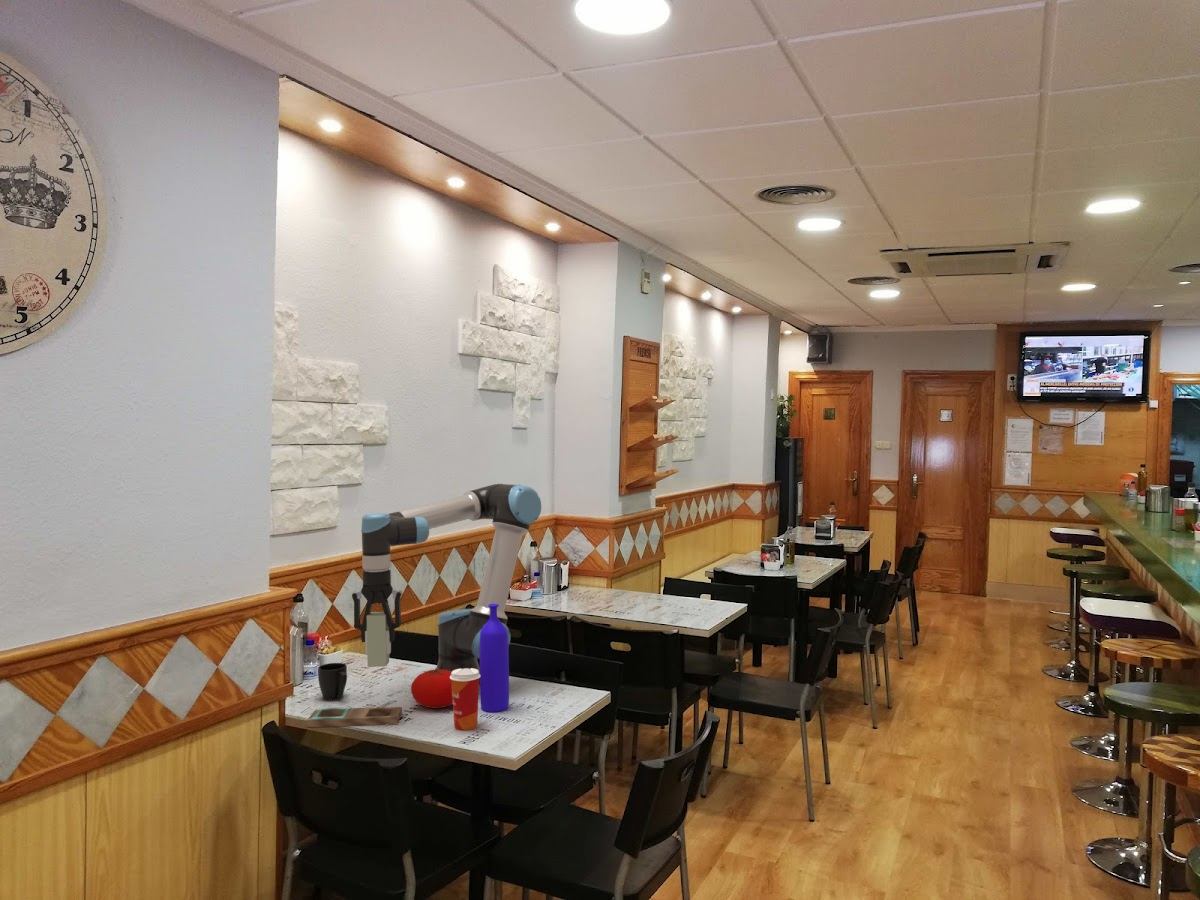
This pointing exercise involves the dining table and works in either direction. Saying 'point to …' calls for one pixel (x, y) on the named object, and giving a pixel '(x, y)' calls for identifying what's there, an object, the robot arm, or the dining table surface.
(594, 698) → the dining table surface
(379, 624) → the block
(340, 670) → the mug
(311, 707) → the dining table surface
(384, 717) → the wooden board
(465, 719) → the coffee cup
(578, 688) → the dining table surface
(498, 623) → the bottle
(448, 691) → the tomato
